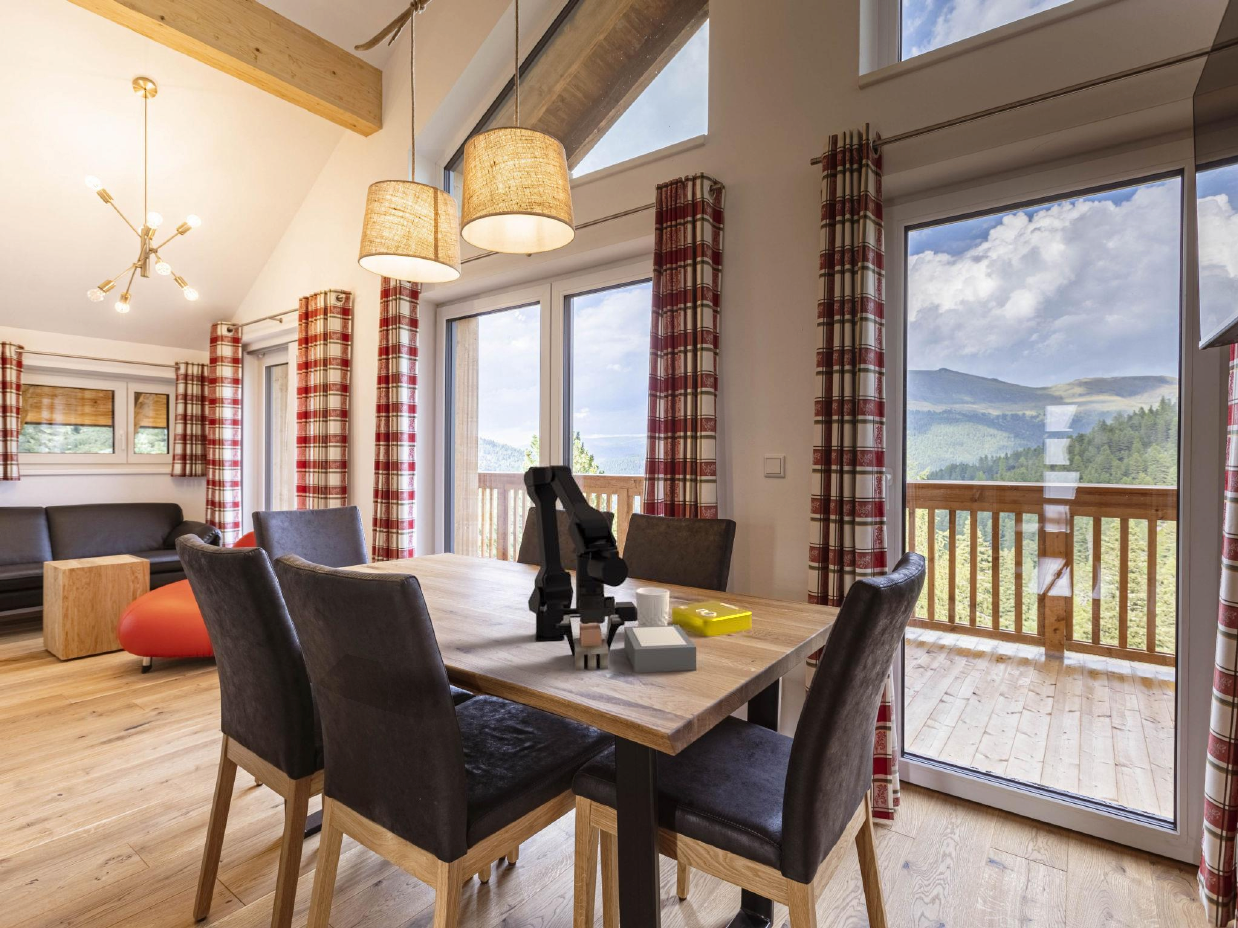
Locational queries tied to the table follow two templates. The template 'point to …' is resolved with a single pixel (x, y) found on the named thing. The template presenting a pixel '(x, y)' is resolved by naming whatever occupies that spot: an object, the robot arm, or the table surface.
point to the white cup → (652, 606)
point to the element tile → (711, 618)
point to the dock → (659, 648)
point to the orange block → (590, 634)
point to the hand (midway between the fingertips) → (590, 654)
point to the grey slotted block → (590, 654)
